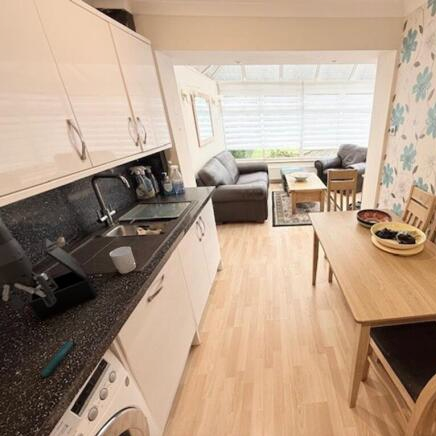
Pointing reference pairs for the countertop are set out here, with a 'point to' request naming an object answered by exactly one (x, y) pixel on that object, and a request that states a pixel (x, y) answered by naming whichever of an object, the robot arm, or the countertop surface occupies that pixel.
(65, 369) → the countertop surface
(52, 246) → the bin lid
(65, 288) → the bin
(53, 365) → the teal rod
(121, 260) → the white cup
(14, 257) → the robot arm
